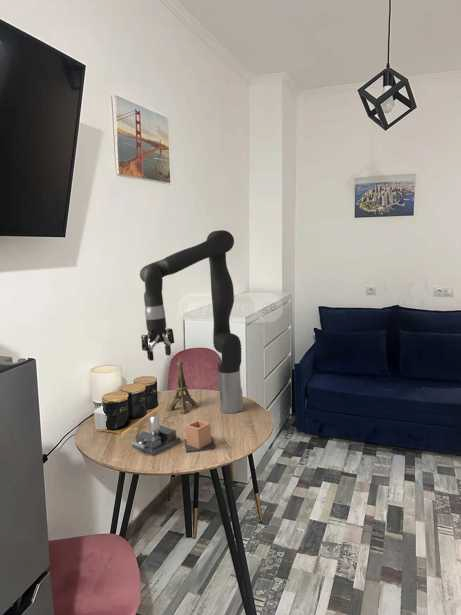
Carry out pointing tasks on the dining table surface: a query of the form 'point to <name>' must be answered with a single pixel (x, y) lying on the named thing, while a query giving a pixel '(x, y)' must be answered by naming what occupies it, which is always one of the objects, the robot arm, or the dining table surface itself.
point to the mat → (206, 447)
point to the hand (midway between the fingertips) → (160, 357)
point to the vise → (155, 438)
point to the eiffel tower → (182, 393)
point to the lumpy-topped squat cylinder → (100, 418)
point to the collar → (198, 434)
